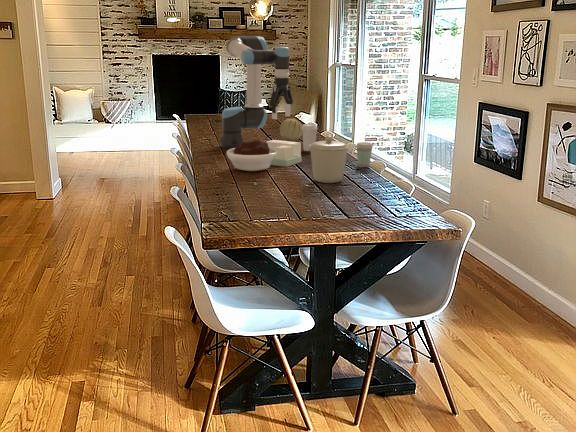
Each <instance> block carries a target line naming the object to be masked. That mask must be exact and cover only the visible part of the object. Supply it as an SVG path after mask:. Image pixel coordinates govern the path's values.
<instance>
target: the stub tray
mask: <svg viewBox="0 0 576 432" xmlns="http://www.w3.org/2000/svg"><path fill="white" fill-rule="evenodd" d="M302 157H303V156H302V155H301V156H297V155H292V159H289V160H280V159H274V160H273V161H272V162H271V165H270V166H276V167H277V166H279V167H284V168H285V167H286V168H287V167H290V166H293V165H296V164H300V163H302V161H303V159H302Z"/></svg>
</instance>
